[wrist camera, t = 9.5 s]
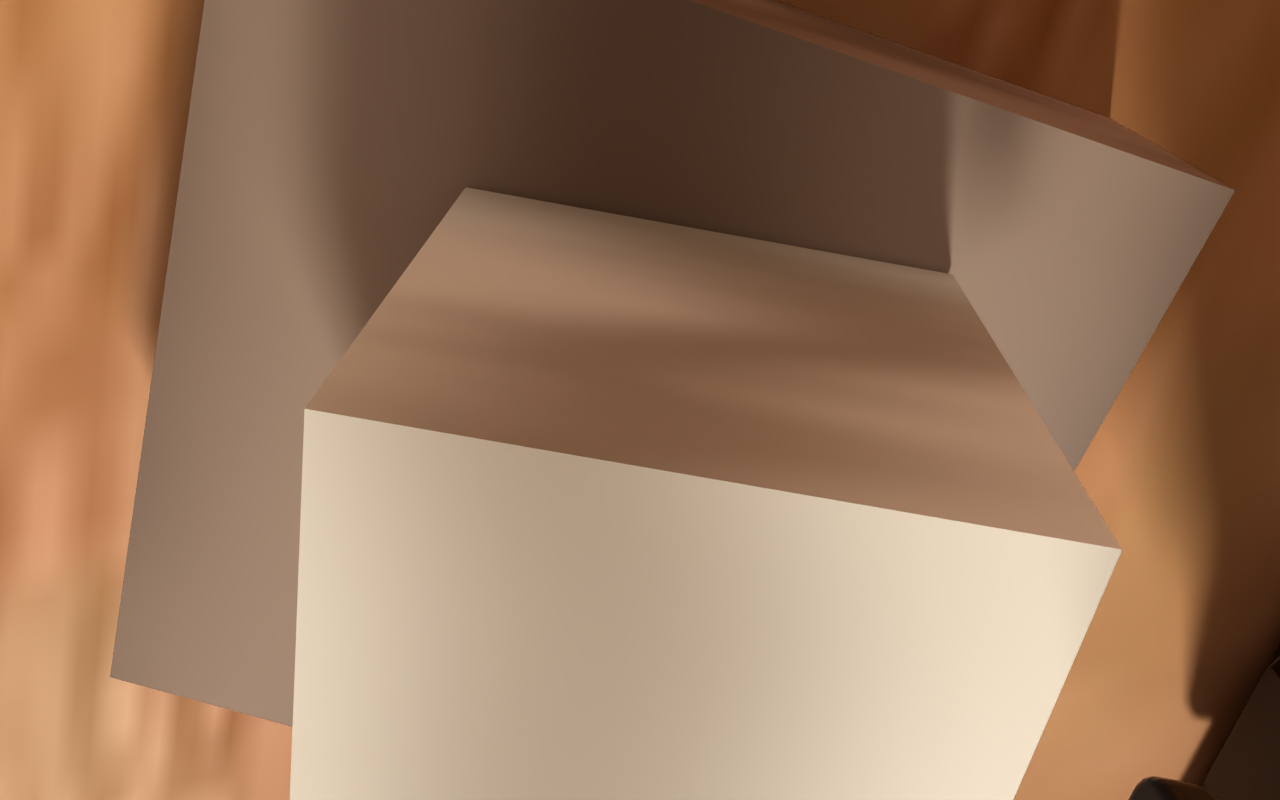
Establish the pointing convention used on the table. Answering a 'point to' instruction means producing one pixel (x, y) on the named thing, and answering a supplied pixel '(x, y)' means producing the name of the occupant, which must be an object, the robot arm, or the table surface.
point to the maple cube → (678, 528)
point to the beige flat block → (591, 179)
